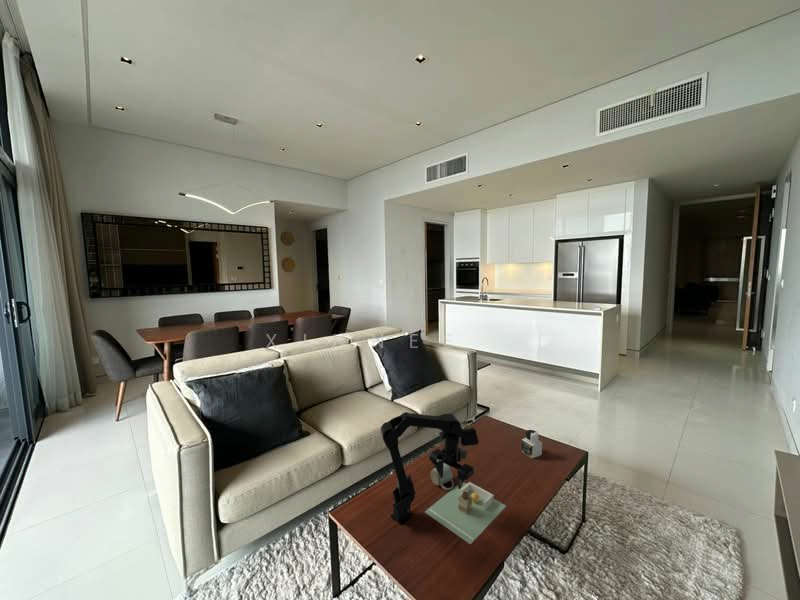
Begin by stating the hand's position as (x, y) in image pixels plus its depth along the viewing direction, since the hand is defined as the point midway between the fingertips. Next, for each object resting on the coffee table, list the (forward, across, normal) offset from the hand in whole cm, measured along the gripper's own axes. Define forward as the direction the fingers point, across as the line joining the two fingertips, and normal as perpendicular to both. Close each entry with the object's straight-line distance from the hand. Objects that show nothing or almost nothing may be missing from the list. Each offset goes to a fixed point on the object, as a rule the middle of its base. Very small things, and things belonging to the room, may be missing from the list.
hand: (450, 483), depth 133 cm
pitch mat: (+12, -5, -4) cm, 13 cm away
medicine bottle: (+10, -6, -62) cm, 63 cm away
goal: (+11, -4, -12) cm, 17 cm away
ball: (+9, -5, -11) cm, 15 cm away
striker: (+11, -5, -4) cm, 13 cm away
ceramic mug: (+12, +12, -11) cm, 20 cm away
